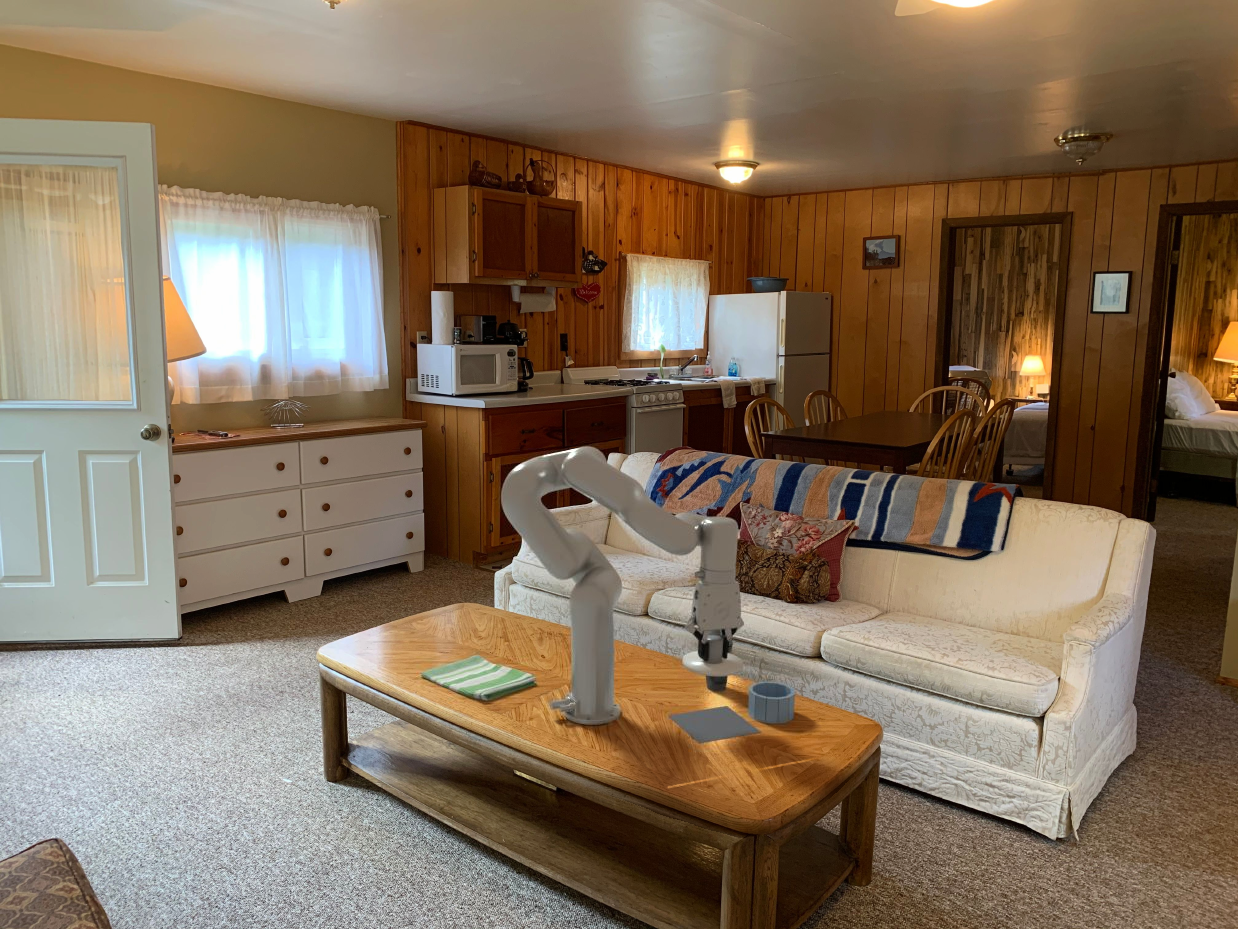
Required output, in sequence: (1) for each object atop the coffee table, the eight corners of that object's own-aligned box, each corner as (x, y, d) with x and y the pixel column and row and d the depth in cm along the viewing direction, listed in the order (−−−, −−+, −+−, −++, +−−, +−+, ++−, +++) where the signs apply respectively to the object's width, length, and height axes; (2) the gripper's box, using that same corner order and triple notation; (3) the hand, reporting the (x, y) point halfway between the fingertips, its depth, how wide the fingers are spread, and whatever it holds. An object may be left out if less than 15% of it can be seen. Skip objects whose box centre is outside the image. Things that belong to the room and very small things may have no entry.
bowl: (763, 727, 201) (764, 701, 200) (740, 710, 210) (740, 685, 209) (802, 721, 205) (803, 695, 204) (777, 704, 214) (778, 679, 213)
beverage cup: (730, 696, 218) (732, 614, 215) (699, 693, 220) (701, 611, 217) (732, 685, 225) (735, 605, 223) (702, 682, 227) (705, 603, 224)
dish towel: (478, 661, 241) (478, 651, 240) (539, 685, 225) (539, 674, 224) (420, 679, 228) (420, 668, 227) (480, 706, 212) (480, 694, 212)
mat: (698, 745, 192) (698, 743, 192) (667, 717, 206) (667, 715, 206) (761, 733, 198) (761, 732, 198) (726, 707, 212) (726, 705, 212)
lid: (700, 679, 192) (701, 651, 191) (672, 658, 204) (673, 631, 203) (754, 672, 197) (756, 645, 196) (723, 652, 209) (725, 626, 208)
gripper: (690, 582, 191) (686, 668, 193) (760, 577, 197) (755, 660, 200) (674, 573, 198) (670, 656, 200) (742, 568, 204) (738, 648, 207)
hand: (712, 657), depth 200 cm, fingers closed on lid, 4 cm apart
